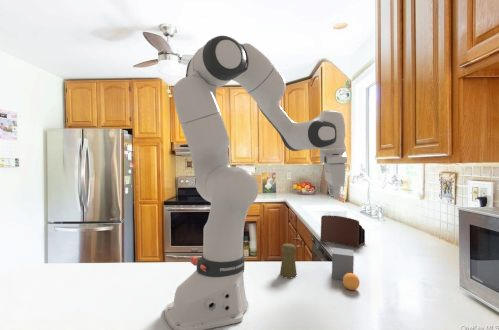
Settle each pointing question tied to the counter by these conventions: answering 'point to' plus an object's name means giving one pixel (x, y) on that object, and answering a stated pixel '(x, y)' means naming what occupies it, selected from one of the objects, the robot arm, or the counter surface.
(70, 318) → the counter surface
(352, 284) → the ball
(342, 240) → the letter holder
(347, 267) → the block
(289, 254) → the cork
